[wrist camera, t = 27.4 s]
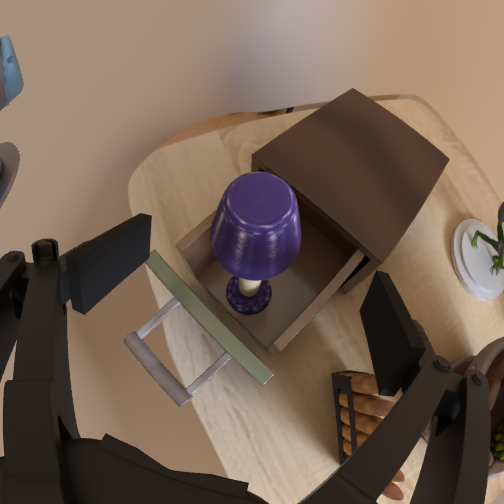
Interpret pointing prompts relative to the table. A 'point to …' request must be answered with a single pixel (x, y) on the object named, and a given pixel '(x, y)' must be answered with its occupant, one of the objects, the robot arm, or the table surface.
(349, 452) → the ammunition clip
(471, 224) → the monster figurine
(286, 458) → the table surface
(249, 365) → the drawer
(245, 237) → the toy lamp
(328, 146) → the cabinet
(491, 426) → the flowerpot
